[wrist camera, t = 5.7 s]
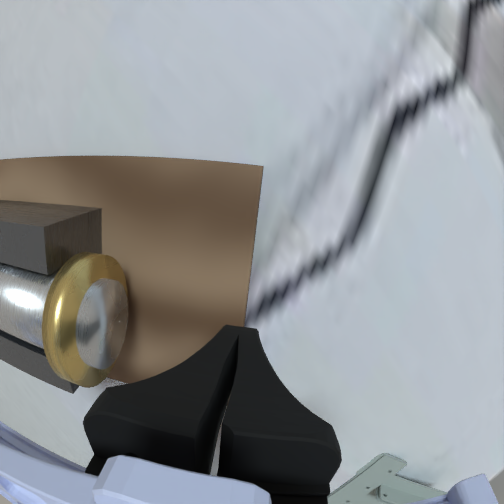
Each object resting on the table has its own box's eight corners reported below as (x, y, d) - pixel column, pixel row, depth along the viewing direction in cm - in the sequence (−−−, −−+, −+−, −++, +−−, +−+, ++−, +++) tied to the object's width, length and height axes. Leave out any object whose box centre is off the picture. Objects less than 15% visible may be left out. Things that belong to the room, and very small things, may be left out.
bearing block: (110, 347, 17) (73, 393, 12) (7, 312, 17) (-32, 339, 13) (101, 208, 14) (43, 227, 10) (-7, 199, 15) (-57, 212, 10)
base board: (235, 398, 18) (233, 406, 17) (-18, 318, 19) (-23, 322, 18) (263, 166, 14) (262, 166, 13) (-36, 163, 15) (-42, 164, 14)
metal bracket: (475, 497, 15) (375, 556, 19) (467, 461, 20) (379, 523, 24) (372, 463, 18) (276, 526, 22) (373, 420, 23) (290, 491, 27)
